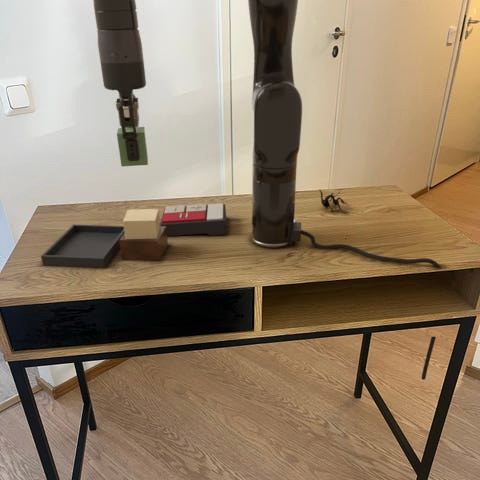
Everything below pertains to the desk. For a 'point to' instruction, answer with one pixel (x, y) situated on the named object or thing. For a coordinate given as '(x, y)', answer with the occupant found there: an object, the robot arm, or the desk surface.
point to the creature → (326, 202)
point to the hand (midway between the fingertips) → (134, 156)
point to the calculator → (195, 219)
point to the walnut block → (144, 247)
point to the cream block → (142, 224)
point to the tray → (85, 246)
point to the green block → (141, 146)
